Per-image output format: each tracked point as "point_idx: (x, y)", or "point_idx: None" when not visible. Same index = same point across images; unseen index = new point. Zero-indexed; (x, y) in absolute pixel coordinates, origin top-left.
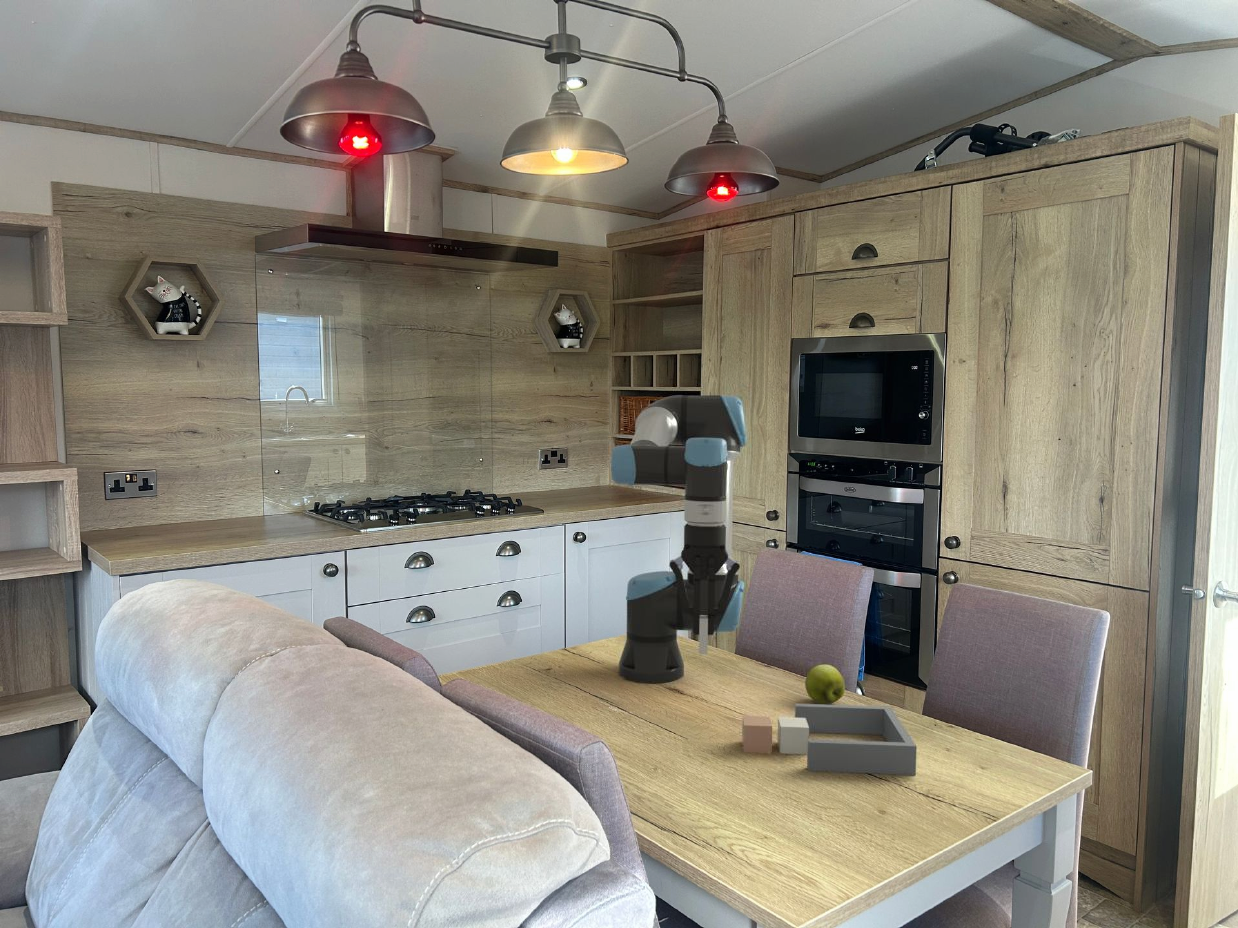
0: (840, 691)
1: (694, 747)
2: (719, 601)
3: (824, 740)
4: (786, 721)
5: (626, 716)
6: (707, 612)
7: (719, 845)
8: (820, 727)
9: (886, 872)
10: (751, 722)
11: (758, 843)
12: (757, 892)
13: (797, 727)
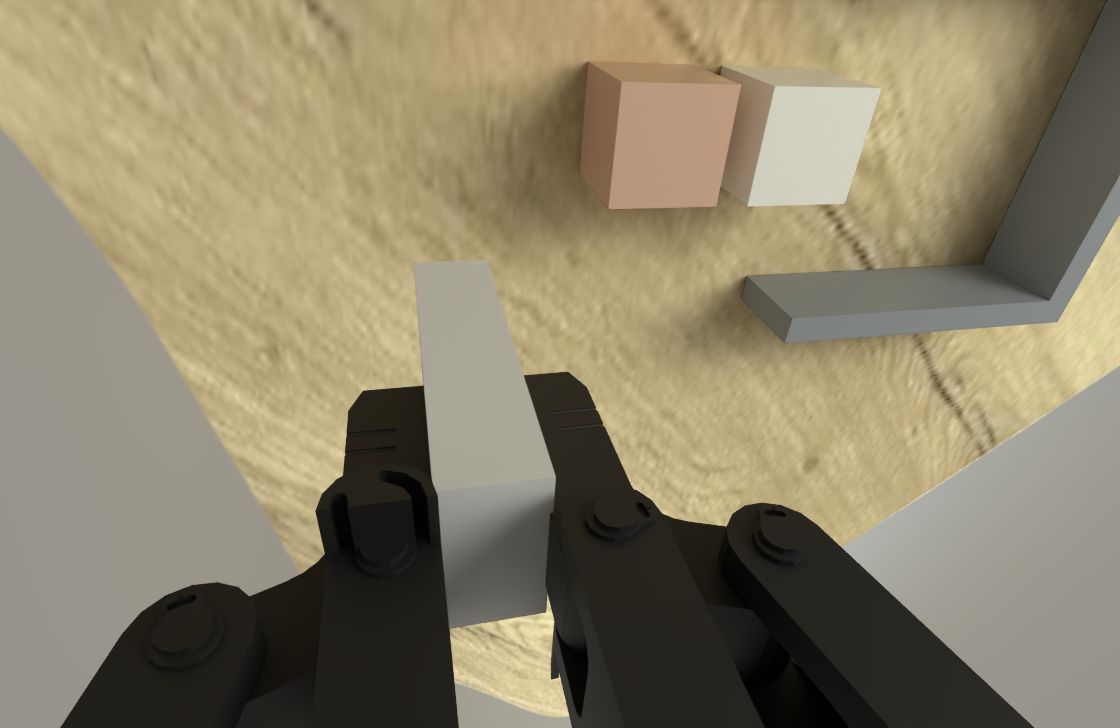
0: None
1: (390, 148)
2: (817, 685)
3: (837, 321)
4: (788, 143)
5: None
6: (561, 557)
7: (476, 624)
8: None
9: None
10: (644, 170)
11: (547, 603)
12: (528, 695)
13: (804, 203)
